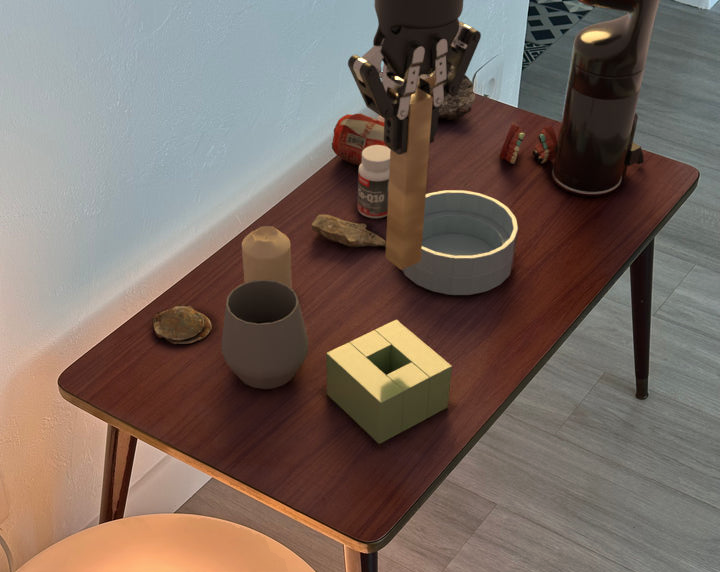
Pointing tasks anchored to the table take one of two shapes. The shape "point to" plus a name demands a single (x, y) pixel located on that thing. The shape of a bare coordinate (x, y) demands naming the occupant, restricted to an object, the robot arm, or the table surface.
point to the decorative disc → (181, 325)
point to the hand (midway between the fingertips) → (410, 144)
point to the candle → (267, 256)
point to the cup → (264, 333)
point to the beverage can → (356, 136)
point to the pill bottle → (374, 182)
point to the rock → (457, 100)
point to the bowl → (464, 243)
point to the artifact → (346, 232)
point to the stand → (388, 380)
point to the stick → (409, 186)
